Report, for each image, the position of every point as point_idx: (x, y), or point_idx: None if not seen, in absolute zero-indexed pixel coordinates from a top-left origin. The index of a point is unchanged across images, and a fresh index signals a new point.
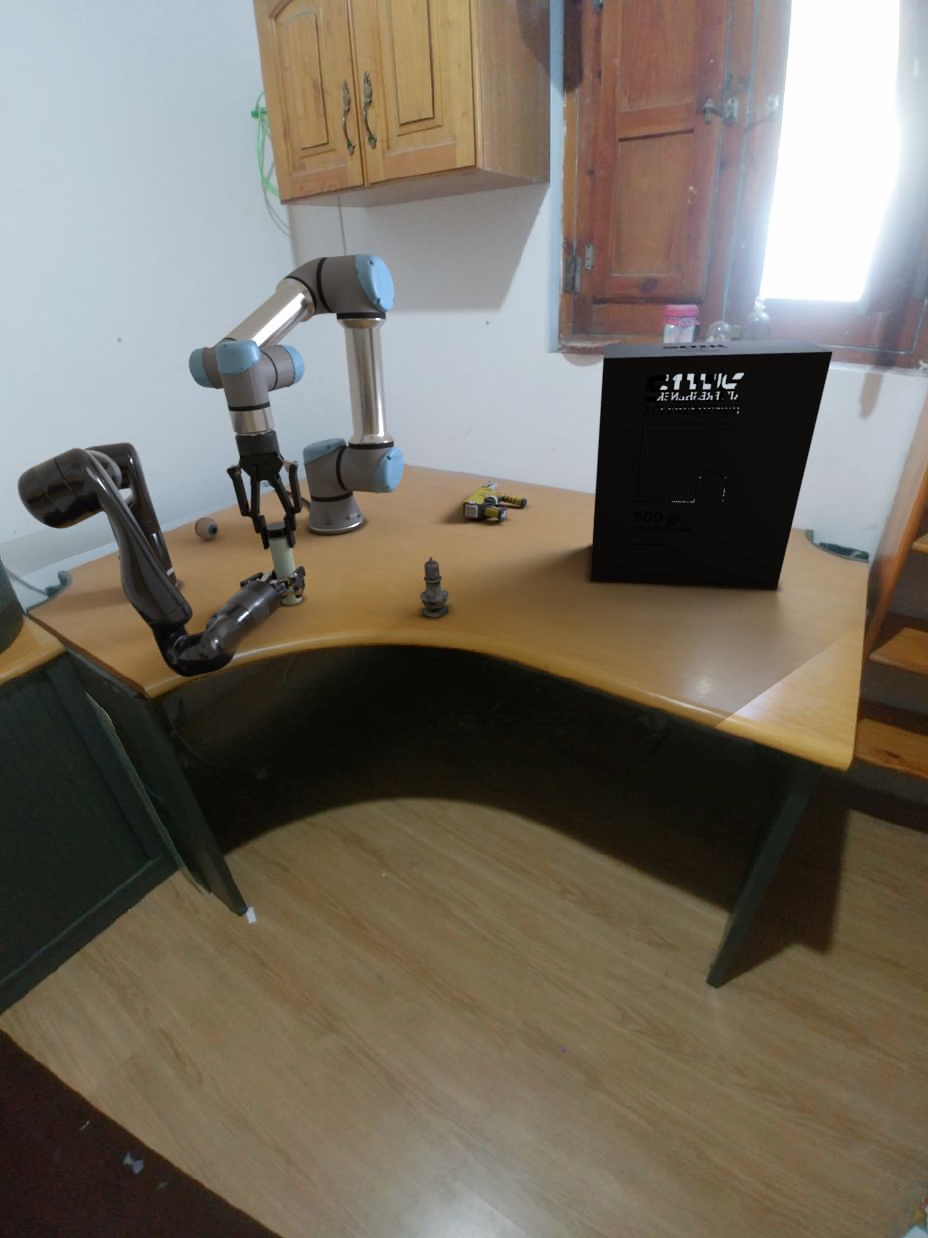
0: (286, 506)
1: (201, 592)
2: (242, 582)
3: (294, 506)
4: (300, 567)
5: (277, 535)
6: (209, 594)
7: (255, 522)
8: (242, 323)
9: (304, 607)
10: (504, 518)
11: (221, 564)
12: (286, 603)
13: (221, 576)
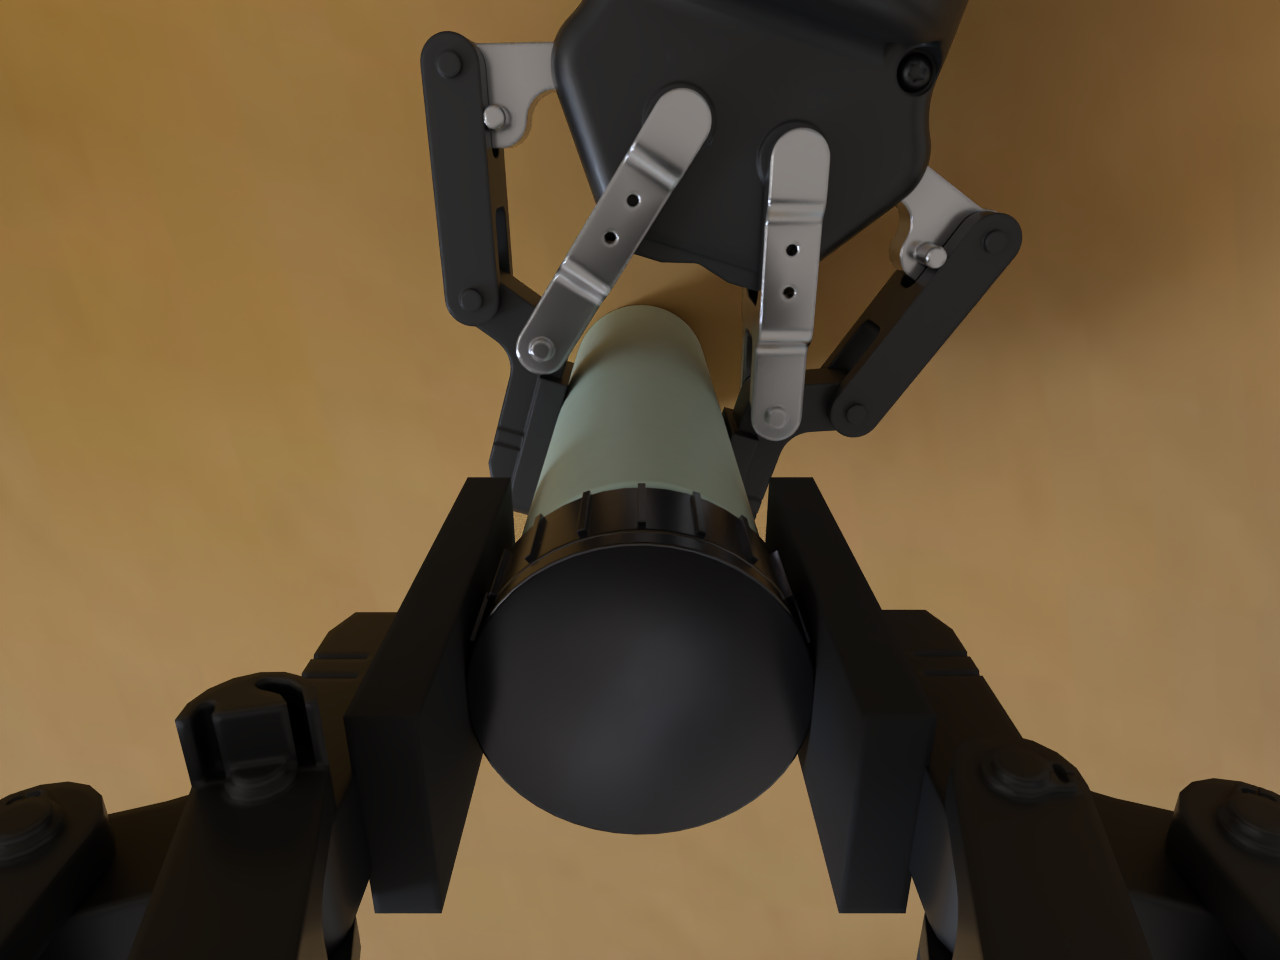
0: (207, 924)
1: (1258, 563)
2: (994, 231)
3: (13, 913)
4: (518, 480)
5: (595, 504)
6: (1204, 529)
7: (964, 717)
8: None
9: (531, 253)
10: None
11: None
12: (664, 312)
13: (1146, 744)
